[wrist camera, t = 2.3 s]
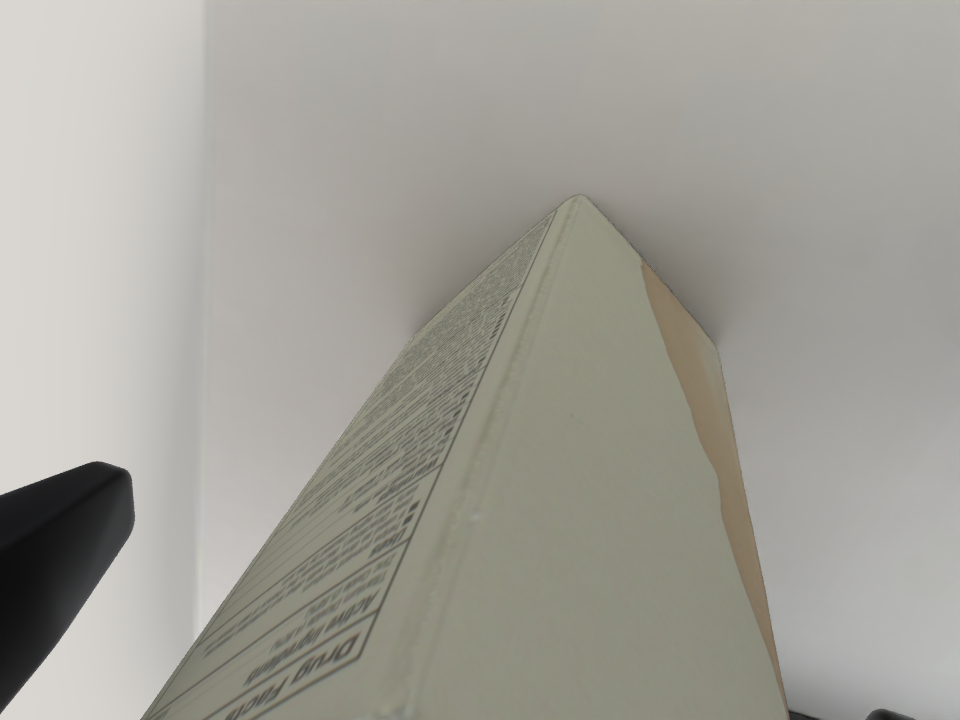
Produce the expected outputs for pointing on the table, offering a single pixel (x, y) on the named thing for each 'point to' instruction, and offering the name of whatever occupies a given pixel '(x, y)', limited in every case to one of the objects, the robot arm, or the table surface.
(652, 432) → the box
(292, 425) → the table surface
